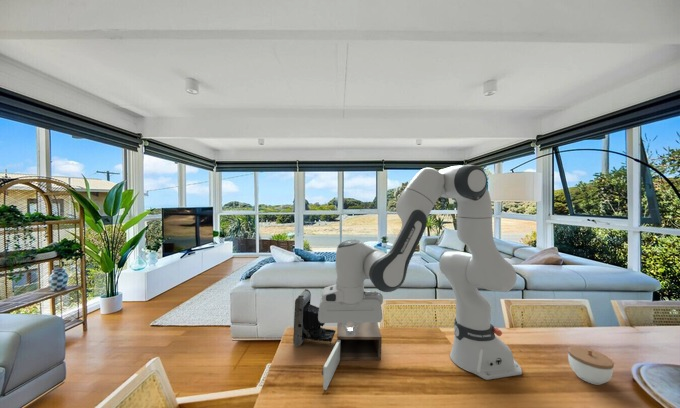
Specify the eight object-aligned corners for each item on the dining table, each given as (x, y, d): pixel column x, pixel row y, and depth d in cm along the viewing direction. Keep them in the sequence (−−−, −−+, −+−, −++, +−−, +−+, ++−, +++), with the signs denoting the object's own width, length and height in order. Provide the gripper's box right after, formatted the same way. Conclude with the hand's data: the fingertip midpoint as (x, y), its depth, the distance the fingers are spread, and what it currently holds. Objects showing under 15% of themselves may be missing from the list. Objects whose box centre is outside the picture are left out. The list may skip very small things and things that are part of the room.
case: (375, 339, 103) (376, 319, 102) (381, 360, 90) (381, 336, 89) (337, 339, 102) (337, 318, 102) (337, 359, 89) (337, 336, 89)
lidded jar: (558, 366, 88) (559, 340, 88) (589, 367, 87) (590, 341, 87) (588, 390, 77) (589, 360, 77) (623, 391, 77) (624, 361, 77)
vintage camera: (330, 353, 94) (333, 301, 94) (291, 346, 97) (294, 295, 97) (335, 339, 103) (338, 292, 103) (300, 333, 106) (303, 287, 106)
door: (326, 390, 75) (327, 366, 74) (320, 389, 75) (320, 365, 75) (340, 360, 89) (340, 339, 89) (335, 359, 89) (335, 338, 89)
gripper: (381, 287, 81) (381, 328, 82) (318, 288, 81) (319, 329, 81) (384, 295, 75) (384, 340, 75) (317, 296, 75) (317, 341, 75)
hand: (350, 334), depth 78 cm, fingers closed
